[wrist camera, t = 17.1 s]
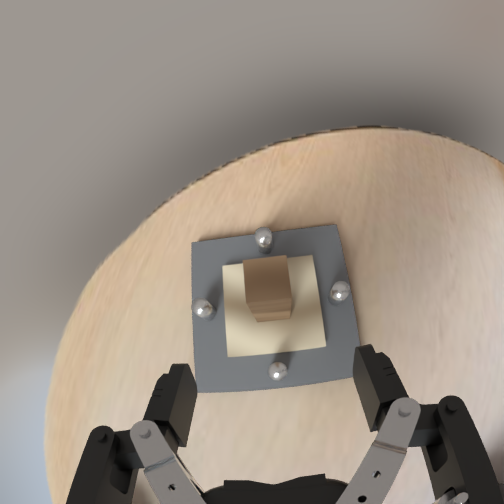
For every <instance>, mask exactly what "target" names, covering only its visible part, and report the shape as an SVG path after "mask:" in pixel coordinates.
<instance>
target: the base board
mask: <svg viewBox="0 0 504 504" xmlns="http://www.w3.org/2000/svg"><path fill="white" fill-rule="evenodd" d="M271 233H272V242H273V250H272V252H271V253H269V254H266V255H265V254H261V253H260V252H259V251H258V247H257V243H256V239H255V234H253V235H245V236H237V237H229V238H222V239H214V240H207V241H199V242H192V302H193V301H194V300H195V299H197V298H204V299H206V300H207V301H208V302H209V303H210V304H211V305H212V306H213V307H214V308H215V309H216V316H215V318H214V319H212V320H210V321H207V320H204V319H203V318H201V317H200V316H198V315H197V314H195V313H194V312H193V311H192V320H193V344H194V362H195V378H196V384H197V393H212V392H239V391H254V390H266V389H277V388H286V387H294V386H302V385H309V384H316V383H322V382H328V381H334V380H340V379H345V378H350V377H353V362H354V353H355V348H356V347H358V346H360V342H359V335H358V329H357V322H356V316H355V310H354V305H353V299H352V294H351V288H350V293H349V295H348V296H347V297H346V298H345V300H344V301H343V302H342V303H341V304H340V305H338V306H333V305H331V304H330V303H329V301H328V294H329V292H330V291H331V289H332V287H333V285H334V284H335V283H336V282H338V281H344V282H346V283H347V284H348V285H349V287H350V283H349V278H348V273H347V269H346V264H345V259H344V255H343V250H342V246H341V242H340V237H339V233H338V229H337V225H327V226H318V227H310V228H301V229H293V230H285V231H277V232H271ZM282 255H286V256H287V258H292V257H300V256H308V255H312V256H313V262H314V268H315V274H316V280H317V286H318V292H319V298H320V305H321V312H322V319H323V326H324V333H325V341H326V346H325V347H320V348H313V349H306V350H299V351H291V352H283V353H274V354H264V355H253V356H240V357H228V354H227V340H226V325H225V308H224V290H223V270H222V266H225V265H234V264H242V263H243V260H249V259H258V258H266V257H274V256H282ZM275 362H281V363H283V364H285V365H286V367H287V370H288V372H287V375H286V377H285V378H284V379H282V380H279V381H276V380H273V379H272V378H271V377H270V376H269V374H268V369H269V367H270V365H271V364H273V363H275Z"/></svg>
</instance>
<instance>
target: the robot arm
mask: <svg viewBox="0 0 504 504" xmlns="http://www.w3.org/2000/svg"><path fill="white" fill-rule="evenodd" d="M353 379H354V382H355V385H356V388H357V391H358V394H359V397H360V400H361V403H362V406H363V410H364V413H365V416H366V419H367V422H368V426H369V429H370V432H373V431H378V434H377V436H376V438H375V440H374V442H373V443H372V445H371V447H370V449H369V450H368V452H367V454H366V456H365V458H364V459H363V461H362V463H361V465H360V466H359V468H358V470H357V472H356V473H355V475H354V476H353V478H352V480H351V481H350V483H349V484H347V483H345V482H342V481H339V480H335V479H326V478H325V474H318V475H312V476H304V477H298V478H295V479H292V480H289V481H286V482H282V483H279V484H274V485H273V484H266V483H260V482H254V481H249V480H224V486H219V487H216V488H213V489H210V490H208V491H206V492H204V490H203V489H202V488H201V487H200V485H199V484H198V483H197V482H196V480H195V479H194V478H193V476H192V475H191V473H190V472H189V470H188V469H187V467H186V466H185V464H184V463H183V461H182V460H181V458H180V457H179V455H178V454H177V450H178V447H186V445H187V440H188V435H189V431H190V426H191V421H192V417H193V412H194V407H195V403H196V398H197V384H196V382H195V379H194V377H193V374H192V372H191V369H190V366H189V365H188V364H172V366H171V368H170V371H169V374H163V375H162V376H161V377H160V378H159V379H158V380H157V383H156V385H155V388H154V391H153V393H152V397H151V399H150V401H149V404H148V407H147V410H146V412H145V415H144V418H143V420H142V421H139V422H137V423H136V424H134V425H133V427H132V428H131V430H125V431H117V432H114V431H113V430H112V429H111V428H110V427H108V426H99V427H96V428H95V429H93V430H92V432H91V433H90V435H89V438H88V440H87V443H86V446H85V448H84V451H83V454H82V457H81V459H80V462H79V465H78V468H77V471H76V474H75V476H74V479H73V482H72V486H71V489H70V492H69V495H68V498H67V502H66V504H131V503H132V498H133V493H134V488H135V483H136V479H137V474H138V470H139V468H145V470H144V474H145V476H146V478H147V480H148V482H149V483H150V485H151V487H152V489H153V491H154V493H155V494H156V496H157V498H158V500H159V501H160V503H161V504H382V503H383V501H384V499H385V497H386V495H387V493H388V492H389V490H390V488H391V486H392V484H393V482H394V480H395V478H396V476H397V474H398V471H399V469H400V467H401V465H402V463H403V460H404V458H405V456H406V453H407V451H406V450H407V447H419V446H421V449H422V452H423V455H424V458H425V462H426V465H427V469H428V473H429V476H430V480H431V484H432V488H433V492H434V496H435V500H436V501H435V502H434V503H432V504H504V502H503V498H502V495H501V491H500V488H499V485H498V482H497V479H496V476H495V473H494V471H493V468H492V465H491V462H490V460H489V457H488V455H487V452H486V450H485V447H484V445H483V443H482V440H481V438H480V436H479V433H478V431H477V429H476V427H475V424H474V422H473V420H472V418H471V416H470V414H469V412H468V410H467V408H466V406H465V404H464V402H463V401H462V399H460V398H459V397H457V396H446V397H444V398H442V399H441V400H440V402H439V404H428V405H422V404H418V402H417V401H415V400H414V399H412V398H409V396H408V395H407V392H406V390H405V388H404V386H403V384H402V382H401V380H400V378H399V376H398V374H397V372H396V370H395V368H394V367H393V364H392V362H391V360H390V358H389V357H387V356H386V355H385V354H384V353H383V352H380V353H375V351H374V348H373V346H372V345H371V344H368V345H363V346H358V347H356V348H355V353H354V362H353Z"/></svg>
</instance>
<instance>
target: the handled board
mask: <svg viewBox="0 0 504 504" xmlns="http://www.w3.org/2000/svg"><path fill="white" fill-rule="evenodd" d="M222 270H223V290H224V308H225V325H226V340H227V354H228V357H240V356H253V355H264V354H274V353H283V352H291V351H299V350H306V349H313V348H320V347H325V346H326V341H325V333H324V326H323V319H322V312H321V305H320V298H319V292H318V286H317V280H316V274H315V268H314V262H313V256H312V255H308V256H300V257H292V258H287V256H286V255H282V256H274V257H266V258H258V259H249V260H243V263H242V264H234V265H225V266H222Z"/></svg>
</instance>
